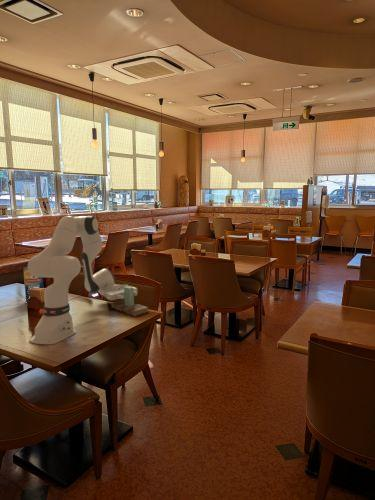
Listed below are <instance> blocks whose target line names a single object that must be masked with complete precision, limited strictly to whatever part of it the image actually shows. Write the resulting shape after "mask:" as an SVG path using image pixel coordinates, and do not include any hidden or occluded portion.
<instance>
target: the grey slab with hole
mask: <svg viewBox="0 0 375 500" xmlns="http://www.w3.org/2000/svg"><path fill="white" fill-rule="evenodd" d="M110 305H111V309H112V308H114V309H113V310H115V309H117V310H116V311H118V310H120V311H119V312H121V311H123V312H122V313H124V312H125V313H124V314H126V313H128V314H127V315H129V314H131V315H130V316H132V315H133V316H132V317H137V315H138V316H139V315H140V314H141V315H143V313H144V314H146V312H147V313H149V307H148V306H145V305H143V304H139V303H135V302H134V306H133V307H127V306H125V301H124V299H122V300H120V301H115V302H112V303H111V304H110Z"/></svg>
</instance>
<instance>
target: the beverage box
mask: <svg viewBox="0 0 375 500" xmlns="http://www.w3.org/2000/svg"><path fill="white" fill-rule="evenodd" d="M23 279H24V280H23V281H24V291H25V294H24V295H25V303H26V302H27V299H28V298H29V294H28V292H27V291H28V289H30V288H33V287H39V288H44V277H37V276H33V275H31V274H30V273H29V271H28V266H27V267H23Z"/></svg>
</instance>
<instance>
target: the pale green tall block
mask: <svg viewBox="0 0 375 500" xmlns="http://www.w3.org/2000/svg"><path fill="white" fill-rule="evenodd" d="M129 286H130V285H128V286H127V287H124V296H125V298H124V299H123V300H124V301H125V306H127V307H133V306H134V303H135V300H134V299H135V297H134V289H133V287H134V286H132V287H129Z"/></svg>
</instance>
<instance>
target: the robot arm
mask: <svg viewBox="0 0 375 500" xmlns="http://www.w3.org/2000/svg"><path fill="white" fill-rule="evenodd" d="M99 227H100V225H99V221H98V219H97V218H96V217H95V216H93V215H80V216H79V215H77V216H73V215H65V216H62V217H61V218H60V220H59V221H58V223H57V225H56V227H55V229H54V232H53V234H52V236H51V239H50V242H49V243H48V244H47V245H46V246H45V248H44V249H43V250H42V251H40V252H39V253H38V254H35V255H33V256H32V257H30V259H29V260H28V263H27V267H28V271H29V273H30V274H31V275H33V276H37V277H43V278H53V283H52V284H50V285H48V286H46V287H45V288H44V289H45V291H44V306H43V308H42V309H39V314H42V316H41V318H40V319H39V321H38V323H37V325H36V326H35V327H34V335H33V336H31V338H29V343H32V344H37V345H55V344H57V343H59V342H61V341H63V340H65V339H68V338H69V337H72V336H73V335H75V334H76V333H77V332H76V331H77V330H76V329H75V327H74V323H73V322H74V321H73V316H72V315H71V312H70V311H71V309H70V308H71V305H70V303H69V288H70V285H71V283H72V281H73V280H74V278H76V277H77V276H78V275H79V274H80V272H81V269H82V273H83V285H84V288H85V290H86V292H88V293H91V294H92V293H93V294H96V293H97V292H98V294H100V295H102V296H103V298H104V297H105V299H106V300H109V301H115V300H118V299H119V300H124V298H125V296H124V287H127V286H129V287H133V289H134V296H135V297H136V296H138V287H135V286H132V285H129V284H126V283H125V284H124V283H123V284H119V283H118V284H117V283H115V280H116V279H115V275H114V273H113V271H111V269H108V268H102V269H100V270H99V271H96V272H95V273H94V274H93V268H92V264H93V261H94V260H95V259H96V257H97V256H98V255H99V254H100V252H102V249H103V246H104V245H103V240H102V238H101V234H100V231H99ZM77 237H80V239H81V242H82V252H81V255H80V260H79V258H77V257H76V256H73V255H72V256H71V255H68V254H70V253H71V252H72V250H73V248H74V245H75V242H76V240H77ZM80 261H81V262H80ZM81 267H82V268H81Z"/></svg>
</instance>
